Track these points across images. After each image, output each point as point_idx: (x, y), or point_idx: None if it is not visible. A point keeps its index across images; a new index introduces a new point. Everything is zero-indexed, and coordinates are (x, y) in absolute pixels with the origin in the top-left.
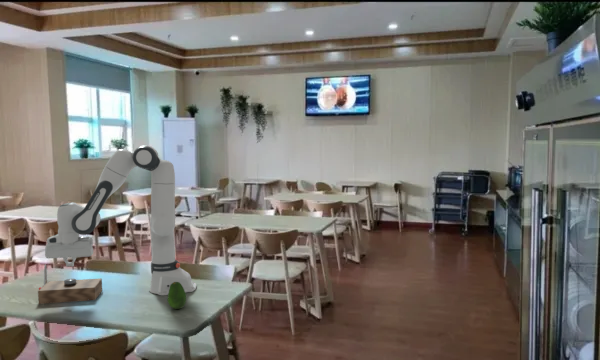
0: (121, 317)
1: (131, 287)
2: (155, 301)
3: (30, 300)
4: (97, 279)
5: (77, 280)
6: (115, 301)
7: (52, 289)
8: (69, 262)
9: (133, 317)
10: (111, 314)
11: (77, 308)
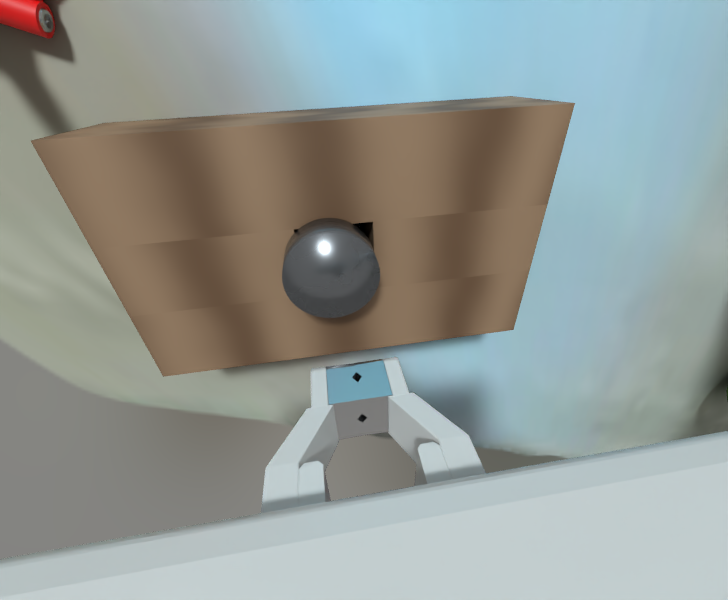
0: (564, 427)
1: (717, 51)
2: (713, 315)
3: (80, 264)
4: (535, 138)
5: (352, 147)
6: (567, 307)
7: (251, 355)
8: (349, 410)
9: (596, 426)
10: (539, 412)
11: (415, 371)
